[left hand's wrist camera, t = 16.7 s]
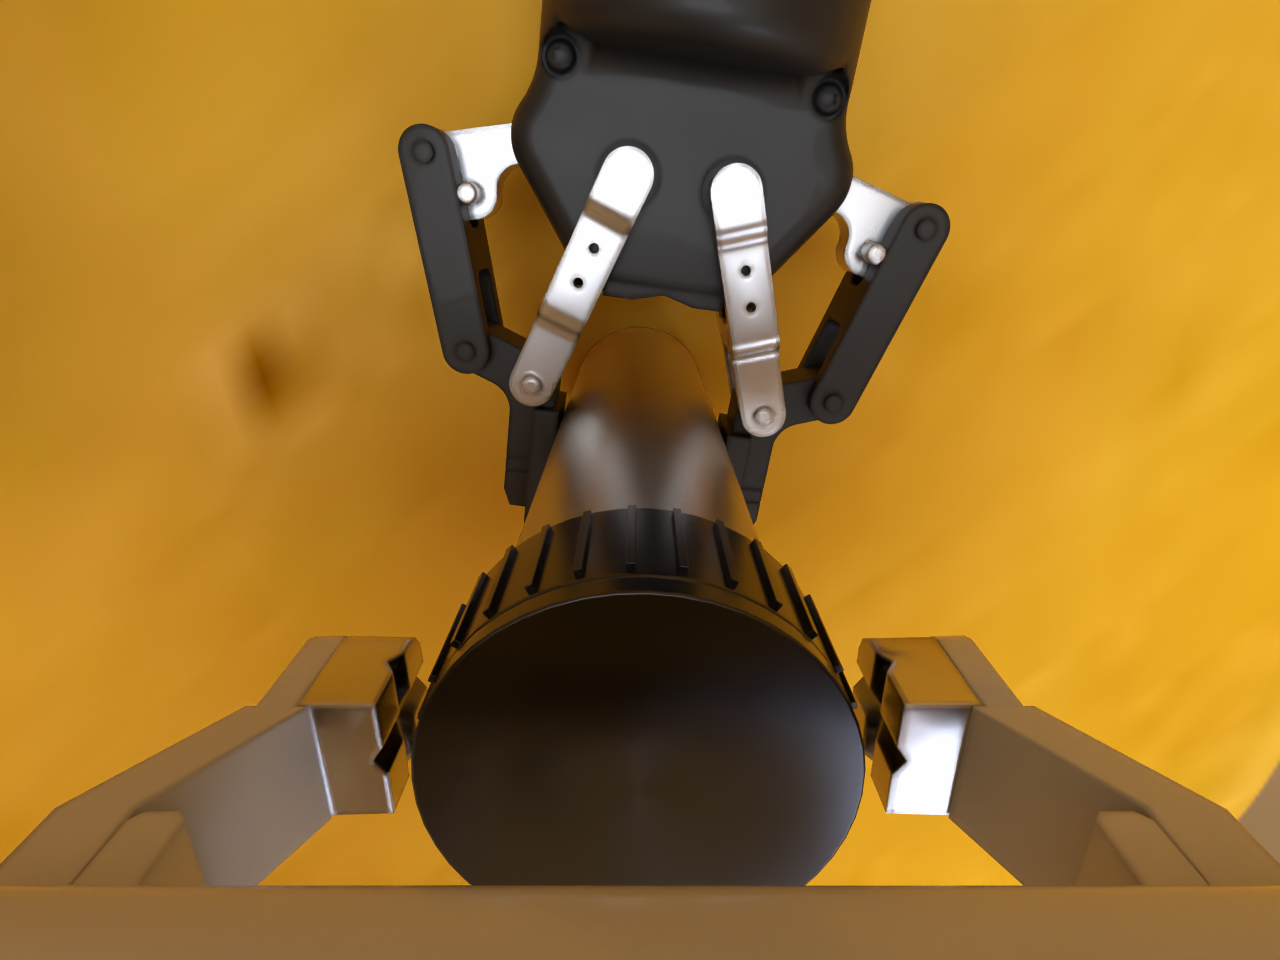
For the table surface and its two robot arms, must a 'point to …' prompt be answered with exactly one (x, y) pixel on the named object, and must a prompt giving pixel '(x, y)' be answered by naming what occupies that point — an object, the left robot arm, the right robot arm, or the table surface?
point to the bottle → (638, 439)
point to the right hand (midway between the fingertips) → (628, 525)
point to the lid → (638, 714)
